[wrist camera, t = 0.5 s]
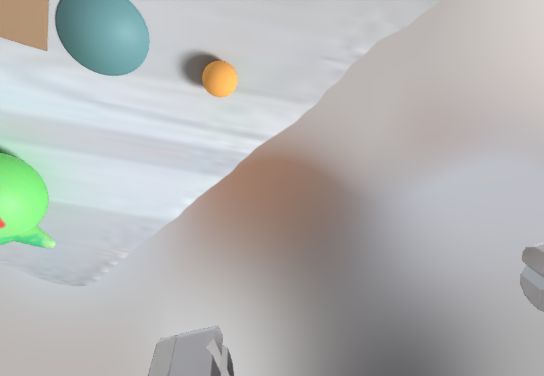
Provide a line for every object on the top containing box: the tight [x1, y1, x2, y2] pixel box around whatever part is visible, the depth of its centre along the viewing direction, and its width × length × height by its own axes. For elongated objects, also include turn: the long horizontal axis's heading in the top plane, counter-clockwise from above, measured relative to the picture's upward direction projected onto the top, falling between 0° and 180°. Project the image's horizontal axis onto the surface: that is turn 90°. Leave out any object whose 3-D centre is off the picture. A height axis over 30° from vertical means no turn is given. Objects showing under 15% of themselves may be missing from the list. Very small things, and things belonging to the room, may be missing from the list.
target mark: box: [56, 0, 149, 76], centre depth 48 cm, size 12×12×1 cm
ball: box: [202, 61, 237, 97], centre depth 52 cm, size 6×6×6 cm
